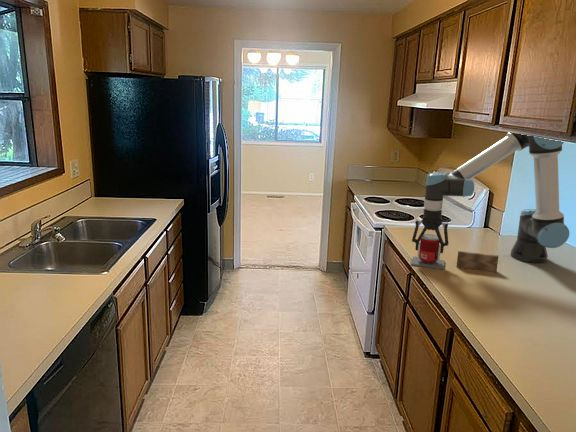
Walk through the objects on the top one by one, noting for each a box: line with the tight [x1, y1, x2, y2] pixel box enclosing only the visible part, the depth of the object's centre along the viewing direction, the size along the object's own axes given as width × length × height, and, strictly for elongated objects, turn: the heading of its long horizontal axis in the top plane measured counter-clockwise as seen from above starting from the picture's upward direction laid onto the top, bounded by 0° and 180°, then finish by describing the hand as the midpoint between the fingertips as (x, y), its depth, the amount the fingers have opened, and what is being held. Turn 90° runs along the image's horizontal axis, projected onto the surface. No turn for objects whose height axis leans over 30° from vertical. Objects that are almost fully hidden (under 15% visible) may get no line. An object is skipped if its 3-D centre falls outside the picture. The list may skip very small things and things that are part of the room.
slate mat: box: [410, 256, 446, 270], centre depth 195 cm, size 14×10×1 cm
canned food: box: [419, 233, 440, 263], centre depth 193 cm, size 8×8×11 cm
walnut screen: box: [456, 250, 499, 273], centre depth 188 cm, size 16×2×7 cm, turn 68°
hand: (428, 258), depth 194 cm, fingers closed on canned food, 8 cm apart
